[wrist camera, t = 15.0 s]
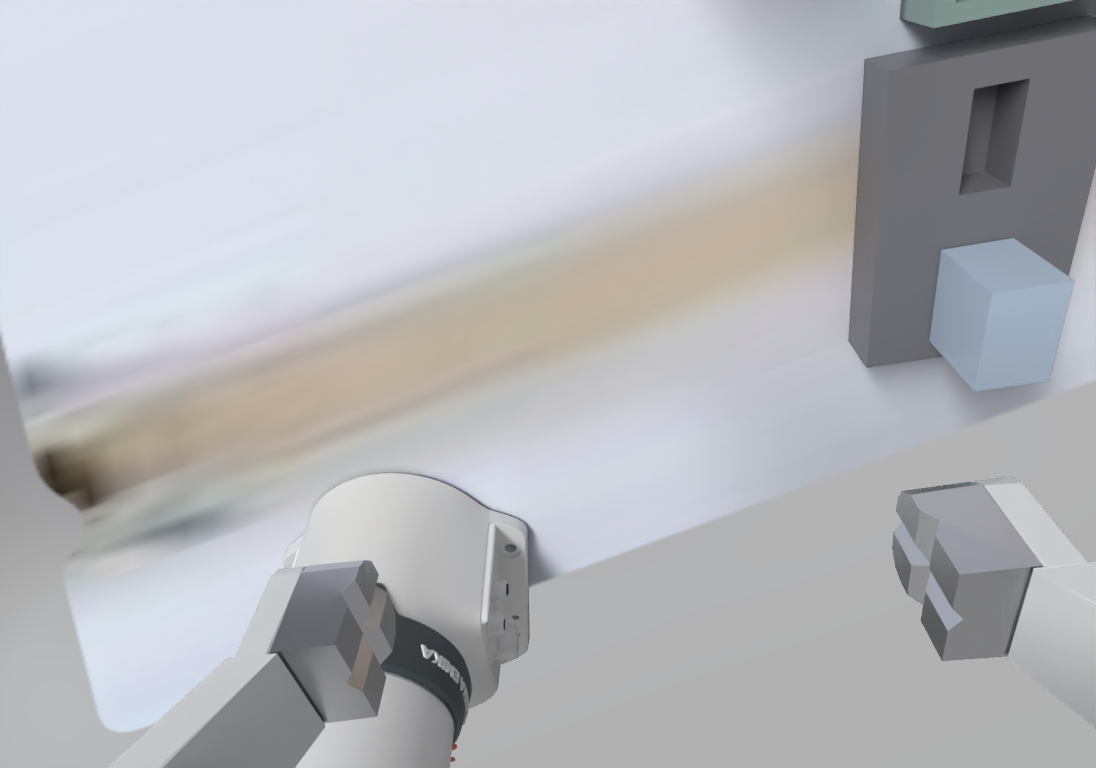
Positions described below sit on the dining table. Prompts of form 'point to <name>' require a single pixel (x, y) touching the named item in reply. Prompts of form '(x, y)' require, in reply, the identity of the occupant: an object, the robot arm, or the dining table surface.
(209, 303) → the dining table surface
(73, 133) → the dining table surface
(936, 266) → the fuse block
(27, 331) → the dining table surface
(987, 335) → the block
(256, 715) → the robot arm
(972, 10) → the parts tray
